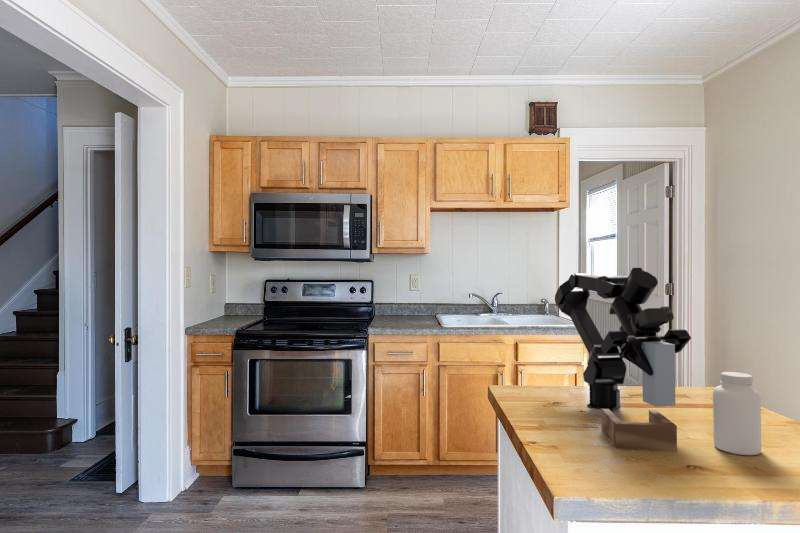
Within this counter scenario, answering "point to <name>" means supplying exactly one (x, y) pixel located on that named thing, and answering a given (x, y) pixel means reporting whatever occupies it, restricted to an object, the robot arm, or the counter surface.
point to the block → (659, 374)
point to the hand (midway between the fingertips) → (662, 374)
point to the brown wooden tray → (640, 432)
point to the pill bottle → (737, 415)
